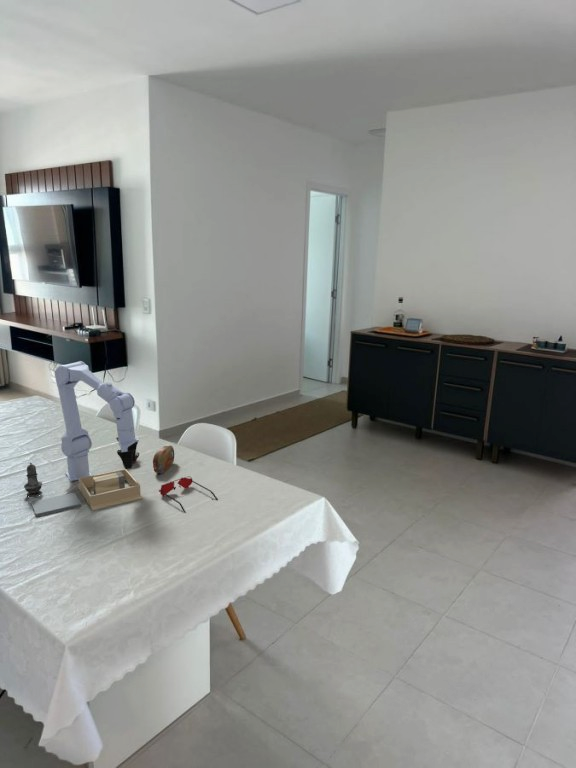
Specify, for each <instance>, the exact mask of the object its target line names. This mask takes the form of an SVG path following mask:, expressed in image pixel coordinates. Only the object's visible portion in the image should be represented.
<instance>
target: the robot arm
mask: <svg viewBox="0 0 576 768" xmlns="http://www.w3.org/2000/svg"><path fill="white" fill-rule="evenodd" d="M54 378H55V382H56V386H57V391H58V395H59V399H60V405H61V410H62V414H63V420H64V424H65V429H66V431H65V432H64V433H63V434H62V436H61V446H60V447H61V448H60V449H61V452H62V453H63V455H64V456H65V457H66V462H67V463H66V464H67V471H65V474H66V476H67V478H68V480H69V481H70V482H74V481H79V478H83V477H88V476H93V475H92V473H91V471H90V467H89V466H90V464H89V454H88V453H90V449H91V448H92V445H93V441H92V439H91V437H90V435H89V431H88V430H87V429H84V428H83V427H82V422H81V418H80V413H79V407H78V402H77V398H76V396H77V395H76V392H75V387H76V385H77V384H78V383H79V382H83V383H85V384H86V385H88V387H91V388H92V389H93V390H94V389H95V390H96V394H97V396H98V397H99V398H101V399H102V400H104V401H105V402H106V403H108V404H109V407H110V409H111V411H112V412H113V416H114V418H115V424H116V432H117V438H118V440H119V441H117V443H118V445H119V448H120V449H117V451H116V454H117V455H118V457H119V458H120V459H121V462H122V465H123V467H124V469H126V470H131V469H132V468H133V464H132V462H133V461H135V456H136V450H137V447H138V443H139V442H140V438H136V433H135V423H134V418H133V417H134V416H133V408H134V407H135V404H136V403H135V399H134V396H133V395H132V394H131V393H130V392H124V391H121V390H120V389H118V388H117V387H115V386H114V385H113V383H111V382H103V381H102V380H101V379H99V377H97V375H95V374H94V373H93V372H92V371H91V370H90V367H89V365H87V364H86V363H85V362H84V361H81V360H79V361H76V362H71V363H67V364H60V365H58V366H57V367H56V368H55V370H54Z"/></svg>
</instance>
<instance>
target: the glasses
mask: <svg viewBox="0 0 576 768" xmlns="http://www.w3.org/2000/svg"><path fill="white" fill-rule="evenodd" d="M177 481H178V482H177ZM175 482H177V484H178V487H179V488H180V489H181V488H183V489H185V490H186V489H188V488H189V487H190V486H191V485H192V484H193V483H194V484H196V485H197V486H200V487H201V488H202V489H205V490H207V491H209V492H210V493H211V494H212V496H213V497H214V499H215V500H216V501H219V499H218V497H217V496H216V495H215V493H214V492H213V491H212V490H211V489H208V488H207V487H205V486H203V485H201V484H199V483H198V482H196V481H194V480H193V478H192V477H191V476H190V475H189V476H188V475H187V476H185V477H180V478H179V479H176V480H173V481H171V480H170V482H167V483H165V484H161V485H160V489H159V490H158V492H159V493H160V494H159V495H161V496H162V497H164V496H166V497H168V498H169V499H170V500H172V501H174V502H176V503H178V504H179V506H180V507H181V510H182V512H183V513H184V514H186V510H185V508H184V506H183V505H182V503H181V502H180V501H178V500H176V499H175V498H173V497H172V496H171V495H168V494H169V493H170V492H172V491H175V490H176V486H175Z"/></svg>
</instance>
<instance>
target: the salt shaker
mask: <svg viewBox="0 0 576 768" xmlns="http://www.w3.org/2000/svg"><path fill="white" fill-rule="evenodd" d="M38 476H39V475H38V473H37V468H36V465H35V464H32V462H30V463H29V465H27V466H26V478H27V483H25V484H24V485H23V488H24V490H25V491H26V492H27V493H26V494H25V496H26V495H27V497H26V498H28V496H29V497H34V498H37V497H36V496H38V497H39V495H40V496H41V494H42V495H43V491H42V490H41V489H42V485H43V482H42V481H38Z"/></svg>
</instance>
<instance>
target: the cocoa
mask: <svg viewBox="0 0 576 768" xmlns="http://www.w3.org/2000/svg"><path fill="white" fill-rule="evenodd" d="M116 440H117V442H118V441H119V440H118V437H116ZM139 456H140V452H138V449H136V456H135V461H133V462H132V465H133V464H135V463H136V462H137V461H138V458H139Z"/></svg>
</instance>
